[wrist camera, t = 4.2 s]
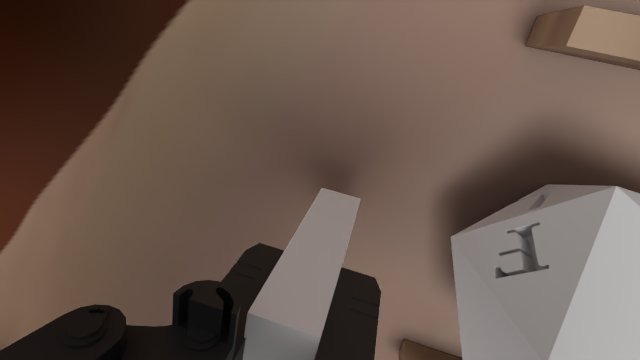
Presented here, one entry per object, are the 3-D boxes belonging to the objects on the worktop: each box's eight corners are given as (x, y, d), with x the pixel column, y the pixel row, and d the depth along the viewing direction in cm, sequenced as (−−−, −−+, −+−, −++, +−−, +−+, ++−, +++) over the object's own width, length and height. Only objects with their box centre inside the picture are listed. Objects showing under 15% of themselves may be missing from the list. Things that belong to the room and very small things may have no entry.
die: (683, 140, 13) (673, 123, 7) (835, 384, 11) (1050, 726, 4) (480, 209, 19) (366, 237, 12) (554, 379, 16) (463, 524, 10)
